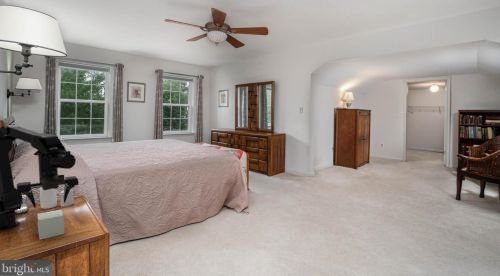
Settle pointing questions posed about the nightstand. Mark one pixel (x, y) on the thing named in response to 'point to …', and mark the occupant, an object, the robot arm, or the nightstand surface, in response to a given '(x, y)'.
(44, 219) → the white block
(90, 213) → the nightstand surface
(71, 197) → the eye dropper bottle
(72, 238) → the nightstand surface
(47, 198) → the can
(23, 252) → the nightstand surface
